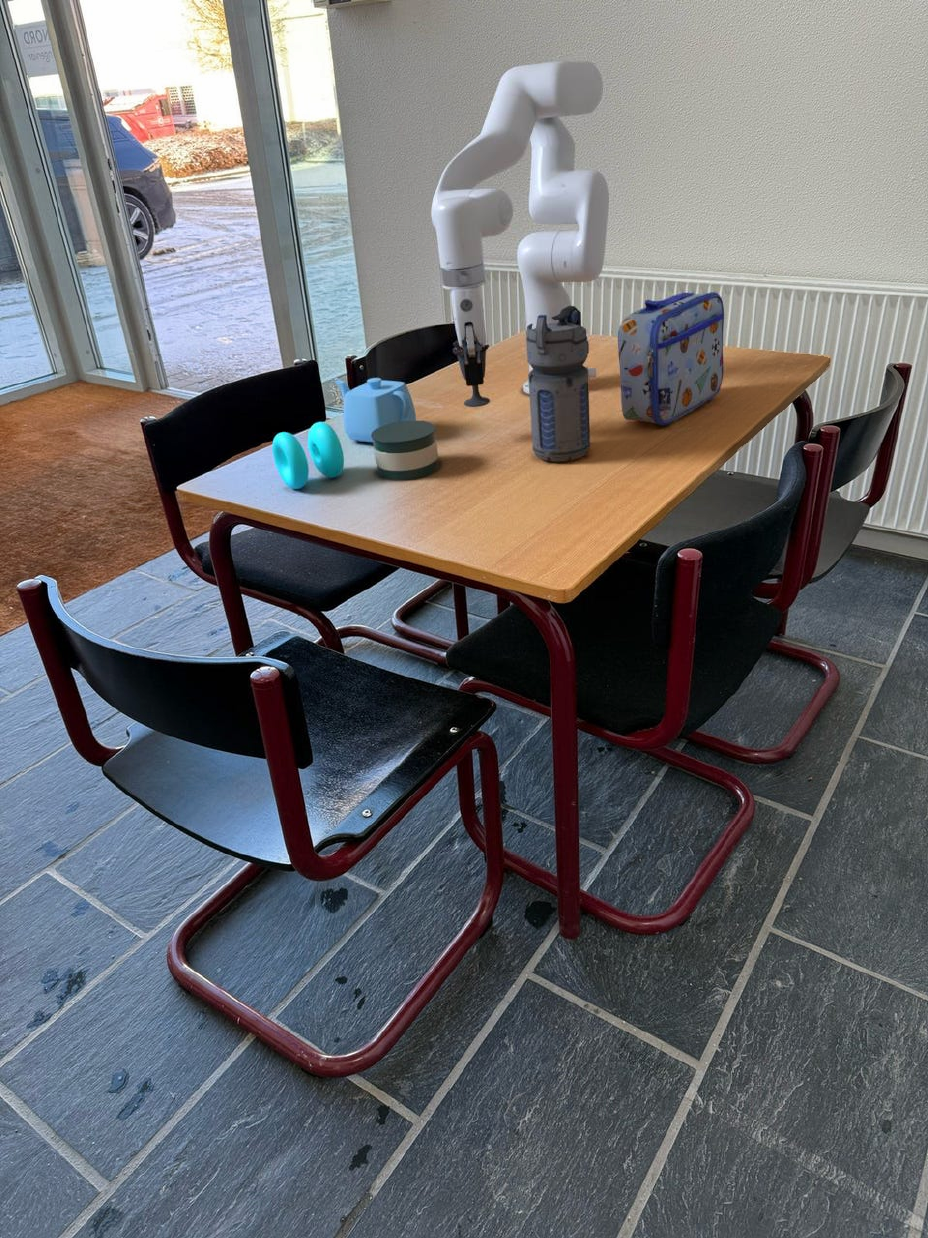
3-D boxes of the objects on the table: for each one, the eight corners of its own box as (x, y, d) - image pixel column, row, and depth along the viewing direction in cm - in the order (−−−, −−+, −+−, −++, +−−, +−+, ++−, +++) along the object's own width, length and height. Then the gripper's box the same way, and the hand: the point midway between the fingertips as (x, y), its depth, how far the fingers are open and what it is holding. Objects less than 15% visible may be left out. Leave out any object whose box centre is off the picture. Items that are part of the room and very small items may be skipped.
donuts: (350, 481, 160) (341, 426, 155) (299, 497, 156) (287, 442, 151) (326, 467, 168) (317, 414, 163) (276, 482, 163) (265, 428, 158)
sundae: (495, 394, 170) (488, 313, 162) (493, 407, 165) (485, 323, 157) (461, 397, 171) (451, 316, 163) (457, 409, 166) (447, 326, 158)
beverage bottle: (606, 443, 164) (603, 299, 151) (572, 469, 155) (566, 318, 142) (556, 437, 169) (549, 298, 157) (520, 462, 160) (510, 316, 147)
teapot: (361, 422, 189) (352, 367, 184) (431, 430, 180) (424, 372, 174) (322, 441, 181) (312, 384, 175) (394, 451, 171) (386, 391, 166)
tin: (440, 454, 168) (435, 417, 164) (439, 476, 158) (435, 438, 154) (378, 460, 168) (373, 423, 164) (374, 483, 158) (368, 445, 155)
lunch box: (659, 437, 164) (660, 312, 153) (610, 430, 170) (608, 308, 159) (729, 394, 181) (734, 279, 170) (681, 389, 187) (684, 277, 176)
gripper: (487, 283, 149) (497, 391, 158) (483, 263, 163) (492, 364, 173) (441, 289, 149) (454, 396, 159) (441, 269, 164) (453, 368, 173)
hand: (474, 378), depth 166 cm, fingers closed on sundae, 5 cm apart
